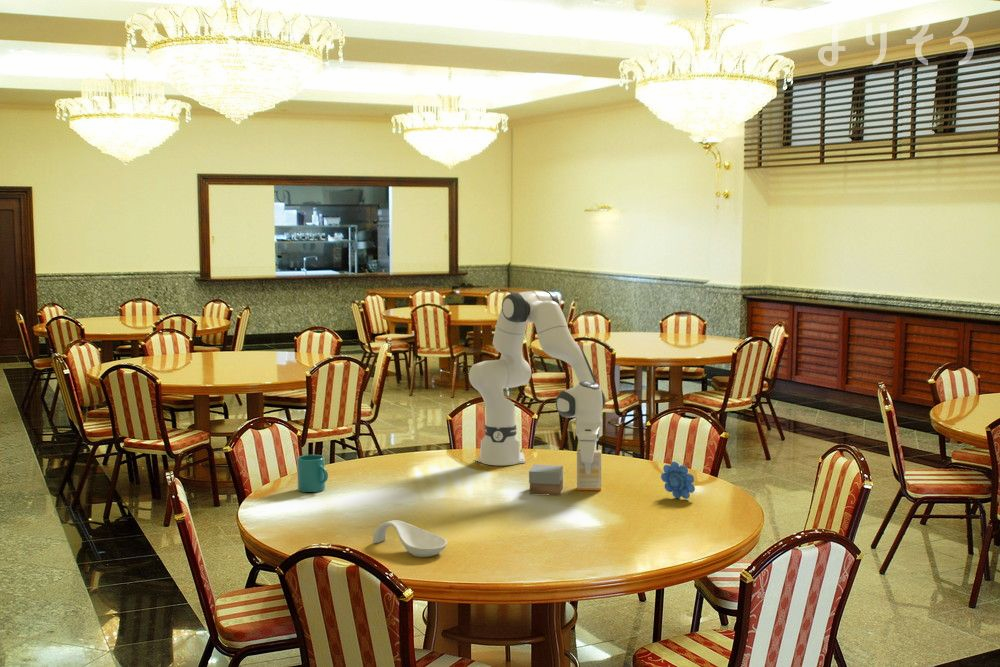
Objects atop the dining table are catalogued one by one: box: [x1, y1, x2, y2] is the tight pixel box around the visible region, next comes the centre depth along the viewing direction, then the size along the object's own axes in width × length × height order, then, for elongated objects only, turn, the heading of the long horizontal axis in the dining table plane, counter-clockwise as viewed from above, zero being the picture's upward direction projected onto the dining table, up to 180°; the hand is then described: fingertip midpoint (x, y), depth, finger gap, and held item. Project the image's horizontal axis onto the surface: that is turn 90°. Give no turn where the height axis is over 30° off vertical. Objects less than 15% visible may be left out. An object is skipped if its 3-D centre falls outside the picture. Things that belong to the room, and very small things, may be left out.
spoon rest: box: [371, 519, 448, 558], centre depth 272 cm, size 24×12×7 cm, turn 53°
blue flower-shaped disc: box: [660, 461, 696, 499], centre depth 324 cm, size 12×7×12 cm, turn 58°
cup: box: [296, 454, 329, 493], centre depth 336 cm, size 9×12×11 cm
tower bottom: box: [529, 477, 564, 496], centre depth 335 cm, size 10×10×4 cm
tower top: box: [528, 464, 564, 485], centre depth 335 cm, size 10×10×4 cm
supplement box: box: [576, 449, 602, 491], centre depth 338 cm, size 8×5×13 cm, turn 84°
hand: (589, 470), depth 338 cm, fingers open, 6 cm apart
